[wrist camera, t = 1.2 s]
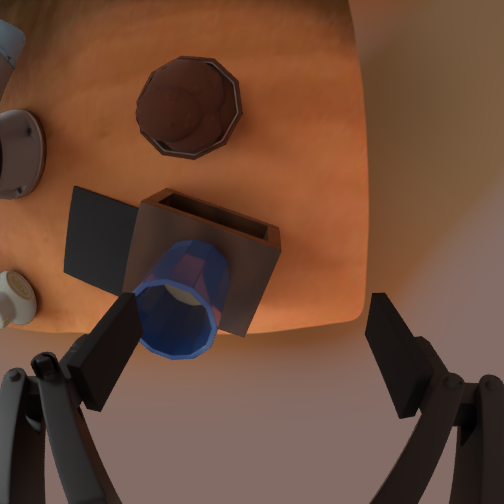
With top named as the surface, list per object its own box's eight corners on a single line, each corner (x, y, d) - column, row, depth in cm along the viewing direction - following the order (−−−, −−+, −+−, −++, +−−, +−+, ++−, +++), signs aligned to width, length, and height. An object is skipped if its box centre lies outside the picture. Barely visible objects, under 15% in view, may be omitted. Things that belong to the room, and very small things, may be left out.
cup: (154, 291, 36) (121, 340, 26) (169, 229, 33) (133, 265, 23) (217, 314, 36) (202, 370, 27) (239, 254, 33) (228, 300, 24)
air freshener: (47, 298, 48) (17, 326, 39) (35, 321, 50) (8, 348, 41) (11, 258, 46) (-22, 280, 36) (2, 284, 48) (-28, 306, 38)
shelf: (146, 265, 44) (121, 293, 36) (166, 187, 40) (140, 201, 32) (248, 301, 46) (244, 337, 37) (278, 227, 41) (281, 250, 33)
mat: (64, 271, 46) (63, 272, 45) (75, 185, 40) (73, 186, 40) (130, 299, 47) (129, 300, 46) (148, 211, 41) (147, 212, 41)
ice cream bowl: (240, 160, 39) (225, 171, 25) (158, 147, 38) (103, 154, 24) (256, 81, 35) (250, 47, 21) (172, 71, 35) (124, 41, 21)
